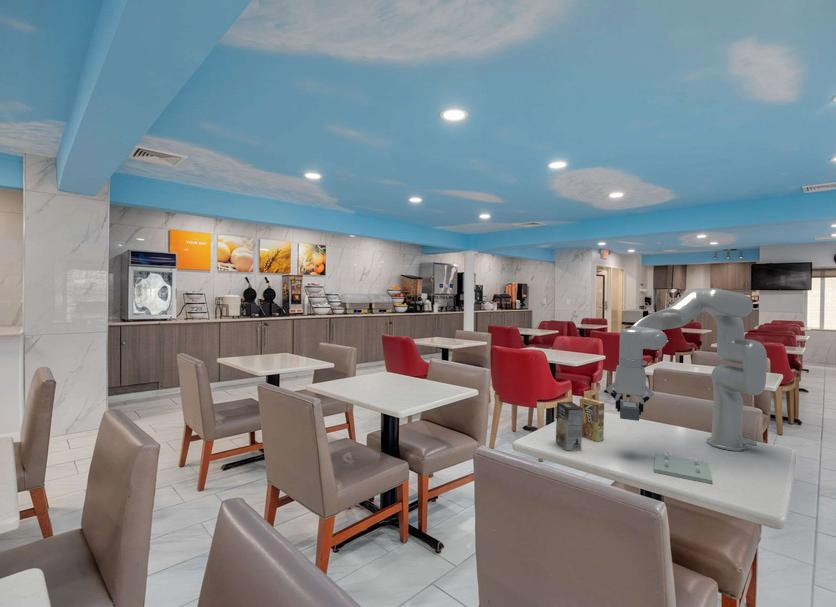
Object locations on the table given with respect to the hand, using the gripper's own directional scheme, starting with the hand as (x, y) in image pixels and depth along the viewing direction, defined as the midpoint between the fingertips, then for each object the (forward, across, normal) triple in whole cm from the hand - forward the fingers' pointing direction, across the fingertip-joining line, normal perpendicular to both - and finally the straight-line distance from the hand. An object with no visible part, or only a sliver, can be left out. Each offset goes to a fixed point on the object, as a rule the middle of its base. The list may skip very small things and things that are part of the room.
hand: (629, 412), depth 158 cm
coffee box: (+16, +20, +2) cm, 26 cm away
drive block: (+1, 0, 0) cm, 1 cm away
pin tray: (+16, -17, +3) cm, 23 cm away
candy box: (+16, +14, -13) cm, 25 cm away
